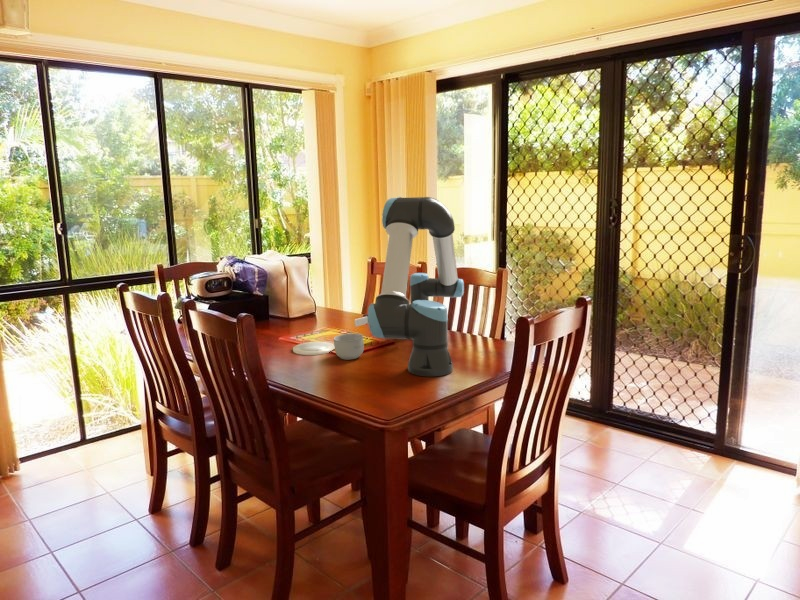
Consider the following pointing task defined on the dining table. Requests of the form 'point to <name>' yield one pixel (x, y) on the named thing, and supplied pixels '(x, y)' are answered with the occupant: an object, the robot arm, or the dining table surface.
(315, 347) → the saucer
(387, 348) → the dining table surface
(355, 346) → the teacup
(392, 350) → the dining table surface
